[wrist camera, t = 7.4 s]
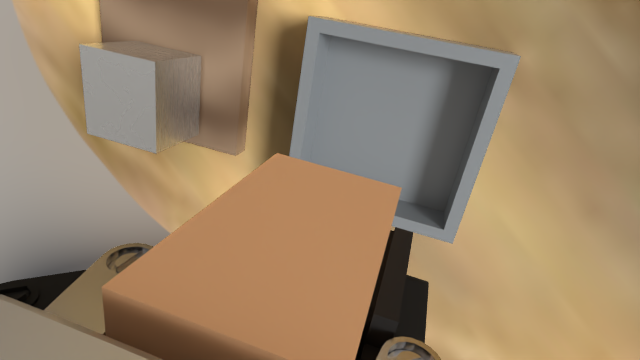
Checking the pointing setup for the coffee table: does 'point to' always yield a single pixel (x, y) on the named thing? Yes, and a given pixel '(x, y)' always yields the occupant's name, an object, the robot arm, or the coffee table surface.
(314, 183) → the light orange block
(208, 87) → the slide board
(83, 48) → the grey cube block
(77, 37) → the coffee table surface
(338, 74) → the tray
